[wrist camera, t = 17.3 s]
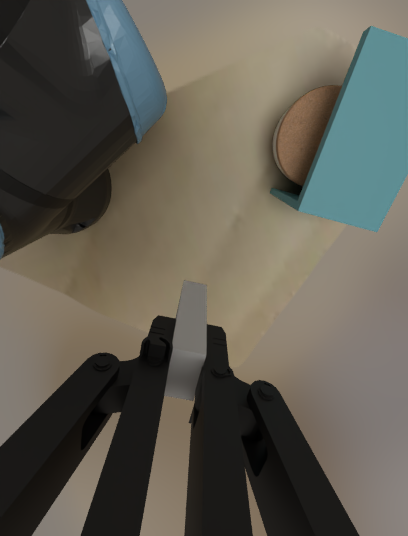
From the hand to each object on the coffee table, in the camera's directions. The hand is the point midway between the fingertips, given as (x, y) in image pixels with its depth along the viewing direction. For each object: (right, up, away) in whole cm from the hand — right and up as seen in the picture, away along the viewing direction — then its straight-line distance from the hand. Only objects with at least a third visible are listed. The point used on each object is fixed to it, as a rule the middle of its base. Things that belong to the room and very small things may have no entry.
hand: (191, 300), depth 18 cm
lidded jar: (+15, +20, +20) cm, 32 cm away
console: (+17, +19, +20) cm, 33 cm away
